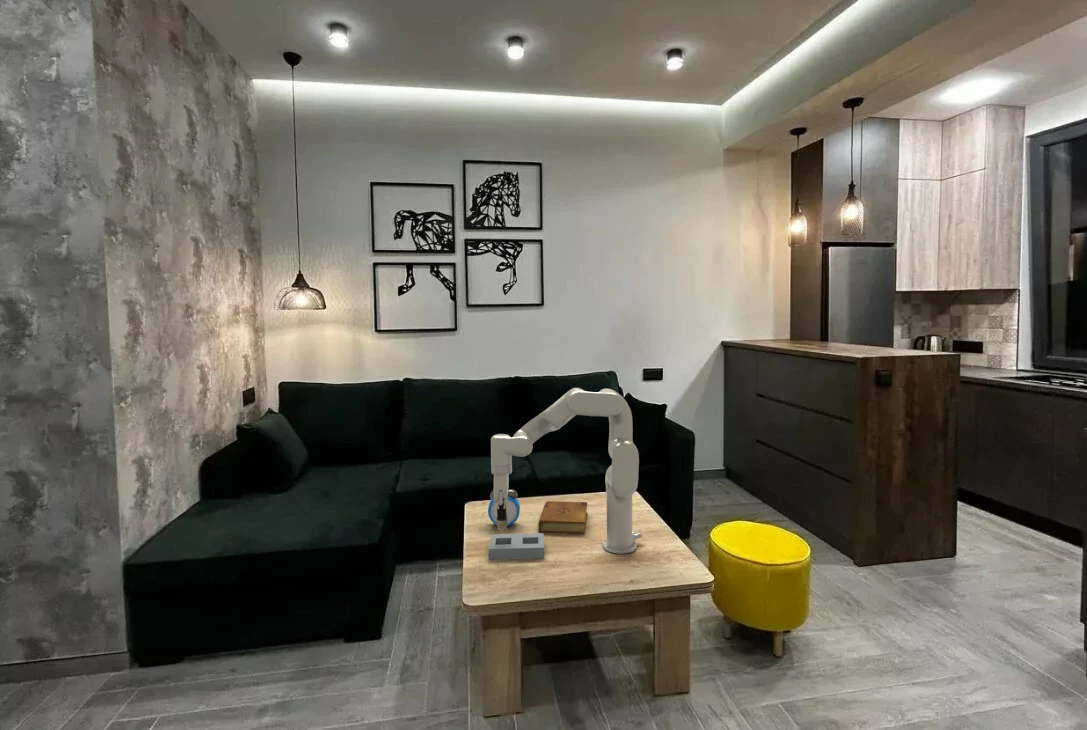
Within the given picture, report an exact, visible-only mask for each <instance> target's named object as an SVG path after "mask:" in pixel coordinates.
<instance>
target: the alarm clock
mask: <svg viewBox="0 0 1087 730" xmlns="http://www.w3.org/2000/svg"><path fill="white" fill-rule="evenodd" d="M489 495H490V496H489V497H490V501H489V503H488V508H487V514H488V518H489V520H490V521H491V522H492V523H493V524H494V525H495V527H498V526H497V520H496V517H497V511H496V501H494V489H493V490H492V491H491V492H490V494H489ZM517 497H518V493H517V491H516V490H515V489H513V488H512V489H511V488H510V489H509V488H508V496H507V517H508V519H507V526H506V527H509V526H511V527H513V524H515V522H517V520H518V519H519V517H520V509H521V505H520V502H519V499H518V498H517Z"/></svg>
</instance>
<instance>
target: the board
mask: <svg viewBox="0 0 1087 730" xmlns="http://www.w3.org/2000/svg"><path fill="white" fill-rule="evenodd" d="M544 534H545V533H539V532H537V533H507V534H506V533H501V534H495V533H494V534H490V540H489V544H488V560H489V561H490V560H491V561H493V560H494V561H495V560H497V561H498V560H521V559H522V560H529V559H530V560H532V559H533V560H535V559H534V558H537V559H545V540H544V539H545V535H544Z"/></svg>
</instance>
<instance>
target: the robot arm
mask: <svg viewBox="0 0 1087 730" xmlns="http://www.w3.org/2000/svg"><path fill="white" fill-rule="evenodd" d="M577 415H578V416H589V417H607V418H608V422H609V425H608V426H609V427H608V428H609V429H608V430H609V433H608V435H609V436H608V446H607V447H608V449H607V450H608V454H609V457H610V459H611V465H610V466H609V467H608V468H607V469H606V472H605V482H604V483H605V491H606V493H605V494H606V539H605V540H603V542H602V548H603V549H604V550H605V551H607V552H609V553H613V554H619V555H622V554H629V553H633V552H634V551H637V549H638V547H637V543H636V542H635V541H636V540H637V539H638V540H639V539H641V538H643V534H642V532H637V533H635V531H633V495H634V494H635V492H636V491H637V489H638V484H639V466H640V465H639V464H640V458H639V457H640V456H639V451H638V448H637V446H636V444H635V443H634V441H633V432H634V430H633V416H632V415H633V413H632V410H631V407H630V406H629V404H628V401H626V399H625V398H624V397H623V396H622V395H621V394H620V393H619V392H617V391H616V390H613V389H611V388H603V389H600V391H598V392H595V391H594V392H593V391H586V390H584V389H582V388H580V387H573V388H571V389H570V390H568V391H567V392H565V393H564V394H563V395H562V396H560V398H558V399H557V400H556V401H554V403H553V404H551V405H550V406H548V407H547V408H546V409H545V410H543V411H542V412H540V413H539V414H538V415H536V416H535V417H534V418H532V419H531V420H529V421H528V422H527V423H526V424H524V425H523V426H522V427H521V428H520V429H518V430H517V431H516V432H515V433H514V434H513V436H512V437H511V436H510V435H509V434H505V433H497V434H494V435H492V436H491V438H490V456H491V457H490V470H491V474H492V475H493V490H494V501H497V499H498V508H497V519H498V520H505V519H506V508H505V501H507V496H508V490H509V481H510V480H509V478H510V477H509V475H511V474H512V472H513V462H512V461H513V459H512V458H513V456H514V457H521V458H522V457H526V456H529V455H530V454H531V453H532V451H533V449H534V448H533V444H534V443H535V442H536V441H537V440H539V439H540V438H541V437H543V436H545V435H546V434H548V433H550V432H555V431H558V430H559V429H561V428H562V427H563V426H565V425H566V424H567V423H568V422H569V421H570V420H572V419H573V418H575V417H576V416H577ZM503 499H504V500H503ZM503 502H504V504H503Z"/></svg>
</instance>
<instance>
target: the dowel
mask: <svg viewBox="0 0 1087 730" xmlns="http://www.w3.org/2000/svg"><path fill="white" fill-rule="evenodd" d="M503 500H504V499H503ZM503 504H504V502H503ZM497 508H498V499H497V501H496V511H497ZM505 508H506V519H505V520H498V519H497V517H496V520H497V526H496V527H497V531H505V530H507V527H508V526H507V519H508V517H507V501H505Z"/></svg>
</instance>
